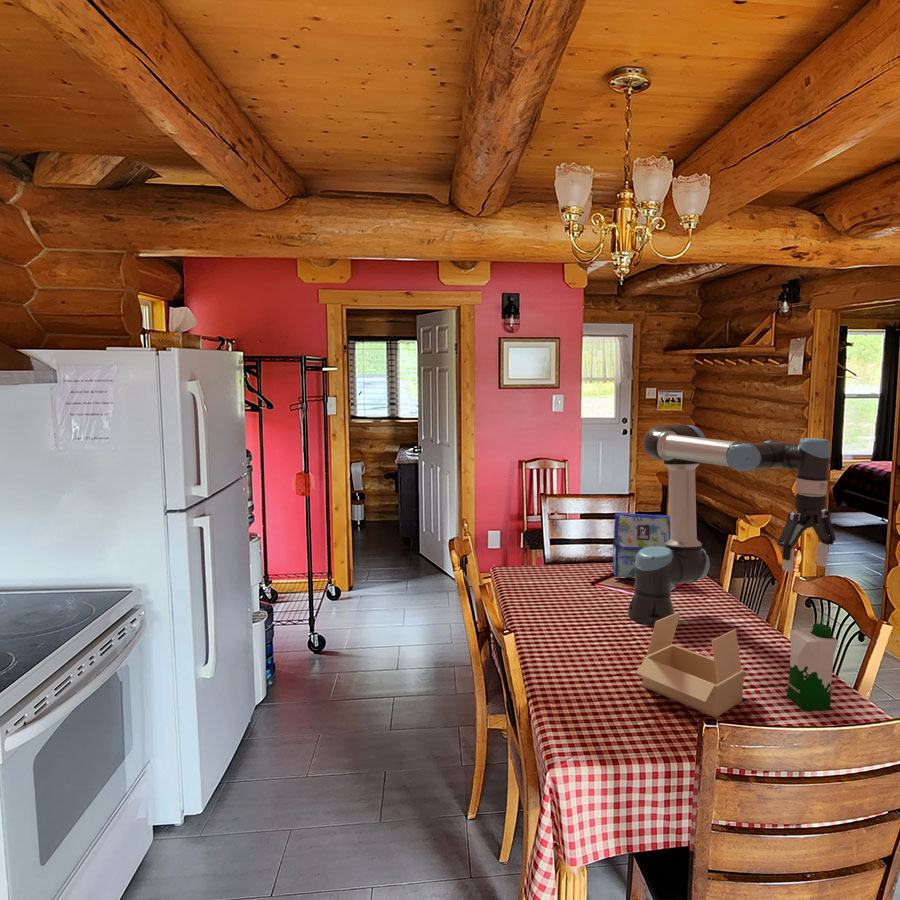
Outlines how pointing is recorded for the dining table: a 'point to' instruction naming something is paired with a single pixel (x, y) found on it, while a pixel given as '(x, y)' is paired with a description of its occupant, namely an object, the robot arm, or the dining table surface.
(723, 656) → the flap
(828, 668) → the milk carton
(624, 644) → the dining table surface
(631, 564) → the lunch bag
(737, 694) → the carton
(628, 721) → the dining table surface
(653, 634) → the flap
